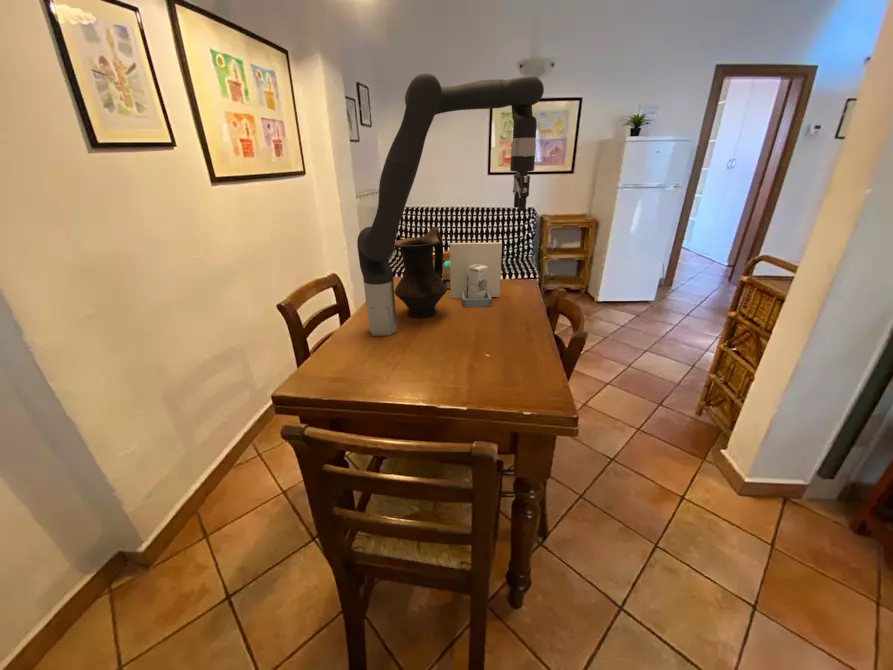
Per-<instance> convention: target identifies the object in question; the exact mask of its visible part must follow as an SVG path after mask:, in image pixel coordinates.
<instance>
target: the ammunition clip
mask: <svg viewBox="0 0 893 670" xmlns="http://www.w3.org/2000/svg"><path fill="white" fill-rule="evenodd" d="M443 263H444V262H443ZM446 276H447V278H446ZM442 281H443V282H444V284H445V285H446V287H447V290H450V266H449V263H448V265H447V270H446V266H445V263H444V264H443V274H442Z"/></svg>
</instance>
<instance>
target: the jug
mask: <svg viewBox="0 0 893 670" xmlns="http://www.w3.org/2000/svg"><path fill="white" fill-rule="evenodd" d="M395 248H396V249H401V256H402V262H403V267H404V273H403V276H402V277H401V279H400V280H399V282H398V283H397V285H396V287H395V288H394V296H396V297H397V298H398V299H400V300H401V301H402V302H403V304H405V306H406V307H407V309H408V310H407V312H406V317H408V318H409V319H413V320H425V319H430V318H433V317H435V316H436V315H437V309H436V306H437V304H438V303H439V301H440V300H441V299H442V297H444V296H445V294H447V293H446V292H448V291H447V287H446V285H445V284H444V282H443V263H444V244H443V240H442V236H441V234H440V229H439V227H436V226H434V227H431V228H430V230H429V231H428V232H427V233H426V234H425V235H423V236H417V237H408V238H403V239H399V240H396V241H395V245H394V249H395ZM433 254H434V255H433ZM433 257H434V258H433Z"/></svg>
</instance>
